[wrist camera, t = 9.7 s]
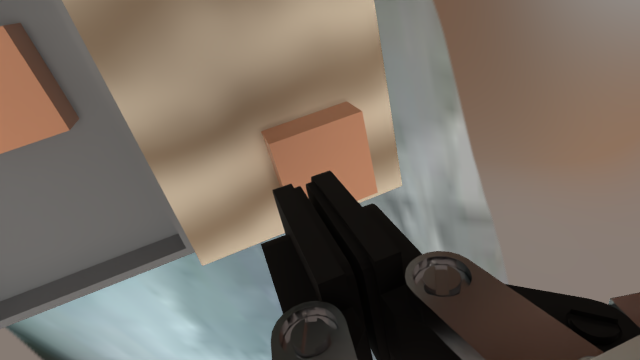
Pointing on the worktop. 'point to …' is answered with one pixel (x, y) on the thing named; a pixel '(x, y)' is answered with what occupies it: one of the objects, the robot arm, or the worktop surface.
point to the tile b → (323, 149)
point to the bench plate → (235, 97)
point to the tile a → (28, 93)
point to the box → (76, 187)
